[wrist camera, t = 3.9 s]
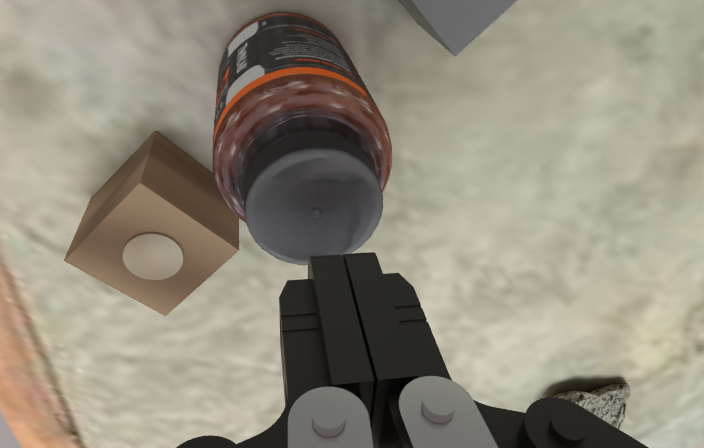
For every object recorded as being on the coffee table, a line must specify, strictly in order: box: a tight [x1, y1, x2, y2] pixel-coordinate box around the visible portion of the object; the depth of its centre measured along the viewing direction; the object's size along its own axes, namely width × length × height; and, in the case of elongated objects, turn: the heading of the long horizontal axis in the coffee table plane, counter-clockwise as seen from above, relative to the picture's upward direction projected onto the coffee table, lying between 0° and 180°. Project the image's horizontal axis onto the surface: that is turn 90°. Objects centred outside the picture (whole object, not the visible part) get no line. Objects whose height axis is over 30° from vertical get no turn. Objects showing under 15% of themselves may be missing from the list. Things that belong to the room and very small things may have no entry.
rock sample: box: [553, 383, 630, 429], centre depth 42 cm, size 10×8×9 cm
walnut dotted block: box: [64, 131, 239, 316], centre depth 24 cm, size 5×5×5 cm
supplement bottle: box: [213, 13, 392, 265], centre depth 19 cm, size 6×6×11 cm
